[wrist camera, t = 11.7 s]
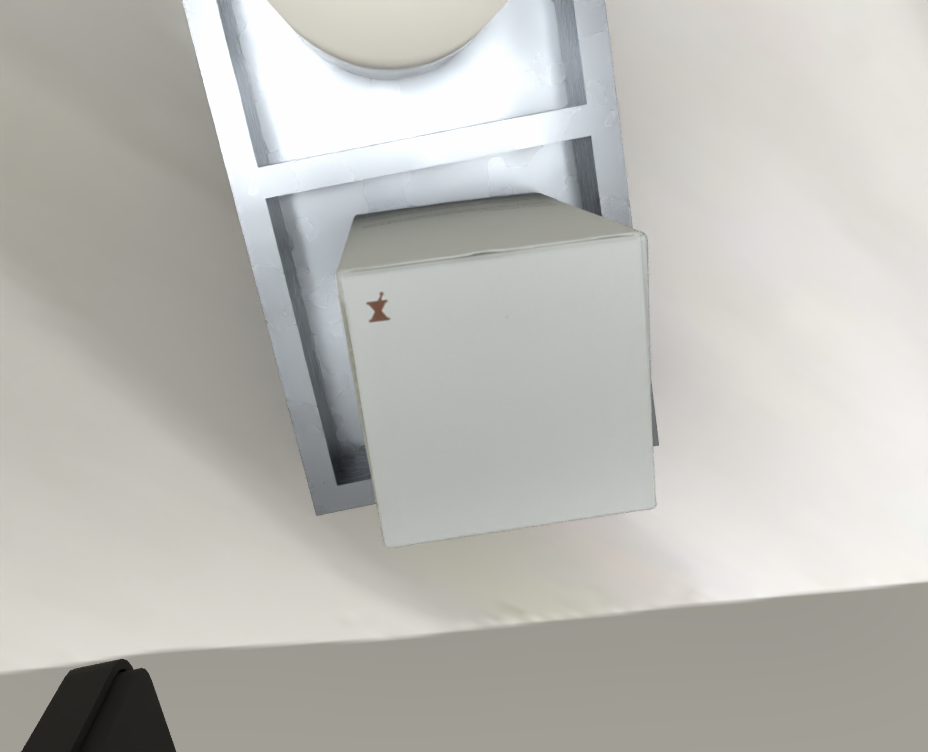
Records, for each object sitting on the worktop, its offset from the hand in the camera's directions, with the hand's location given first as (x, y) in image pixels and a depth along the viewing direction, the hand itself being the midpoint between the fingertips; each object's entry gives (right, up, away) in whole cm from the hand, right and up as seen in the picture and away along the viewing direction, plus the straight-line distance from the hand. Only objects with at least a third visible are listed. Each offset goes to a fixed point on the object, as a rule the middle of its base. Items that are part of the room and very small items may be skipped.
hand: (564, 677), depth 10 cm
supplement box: (-1, +7, +22) cm, 24 cm away
